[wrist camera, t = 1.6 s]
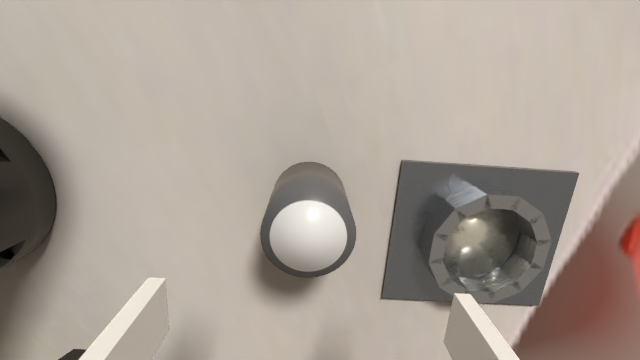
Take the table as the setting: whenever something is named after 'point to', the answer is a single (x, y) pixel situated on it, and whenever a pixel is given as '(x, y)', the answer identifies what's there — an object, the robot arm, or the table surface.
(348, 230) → the lens barrel
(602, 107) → the table surface
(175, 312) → the table surface
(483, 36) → the table surface
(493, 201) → the barrel mount
